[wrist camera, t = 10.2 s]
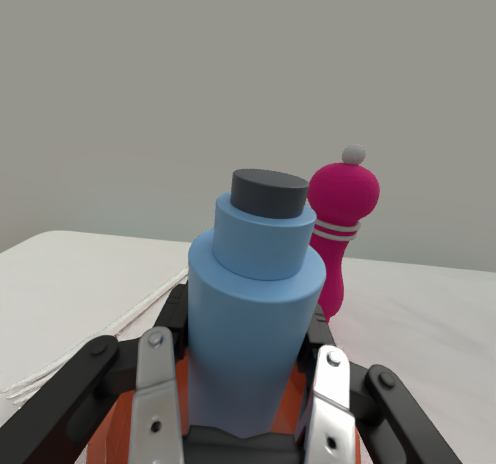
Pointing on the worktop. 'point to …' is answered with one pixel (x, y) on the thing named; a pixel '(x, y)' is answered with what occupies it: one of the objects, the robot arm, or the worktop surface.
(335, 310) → the pepper mill
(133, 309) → the fork
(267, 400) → the bottle
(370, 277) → the worktop surface
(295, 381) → the pot
